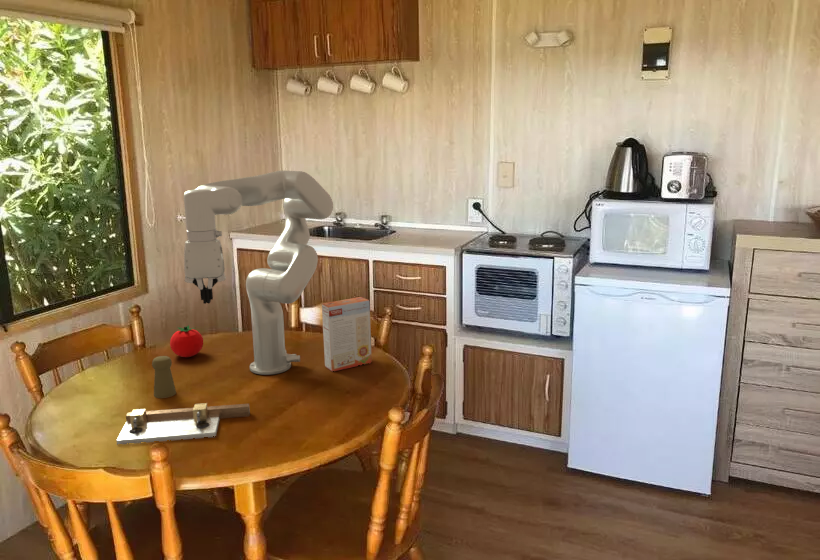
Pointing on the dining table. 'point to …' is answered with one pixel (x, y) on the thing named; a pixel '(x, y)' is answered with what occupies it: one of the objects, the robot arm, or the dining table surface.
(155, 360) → the salt shaker
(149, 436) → the hole plate
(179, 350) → the tomato
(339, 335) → the cracker box
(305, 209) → the robot arm
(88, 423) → the dining table surface
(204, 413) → the block
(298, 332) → the dining table surface
